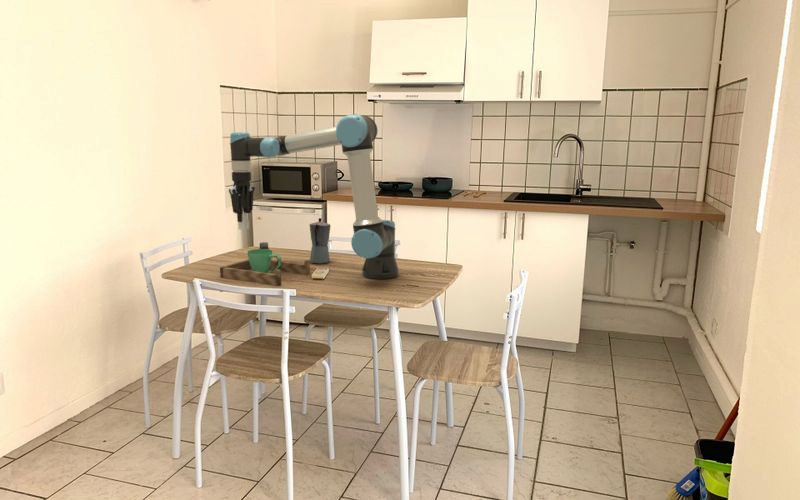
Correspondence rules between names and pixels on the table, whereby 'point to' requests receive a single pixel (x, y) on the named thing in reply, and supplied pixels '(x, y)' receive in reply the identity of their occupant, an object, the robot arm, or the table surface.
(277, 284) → the bay
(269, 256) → the mug
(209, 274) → the table surface
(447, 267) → the table surface
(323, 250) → the moka pot
